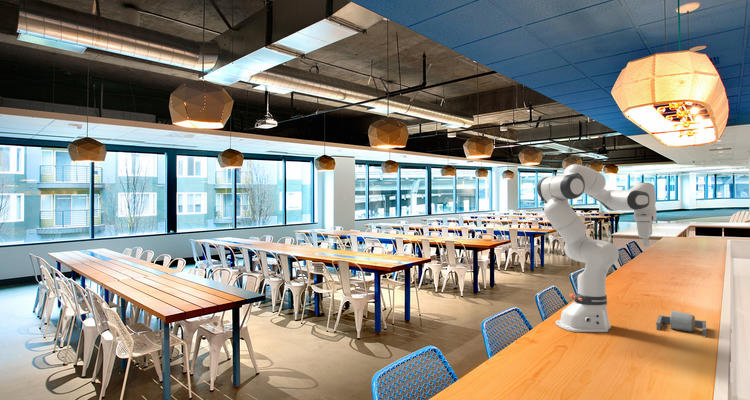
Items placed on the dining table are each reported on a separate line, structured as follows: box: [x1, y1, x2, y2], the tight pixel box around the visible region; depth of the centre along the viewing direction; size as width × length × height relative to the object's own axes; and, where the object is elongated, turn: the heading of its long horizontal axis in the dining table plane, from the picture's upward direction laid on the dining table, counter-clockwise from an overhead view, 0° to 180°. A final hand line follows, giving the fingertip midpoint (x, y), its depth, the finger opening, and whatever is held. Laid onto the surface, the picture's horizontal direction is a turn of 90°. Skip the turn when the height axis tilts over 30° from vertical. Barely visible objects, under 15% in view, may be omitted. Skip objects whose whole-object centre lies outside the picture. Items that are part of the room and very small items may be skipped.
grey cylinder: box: [669, 310, 696, 333], centre depth 169 cm, size 11×8×8 cm
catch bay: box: [655, 314, 707, 338], centre depth 169 cm, size 14×16×3 cm
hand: (646, 245), depth 186 cm, fingers closed
